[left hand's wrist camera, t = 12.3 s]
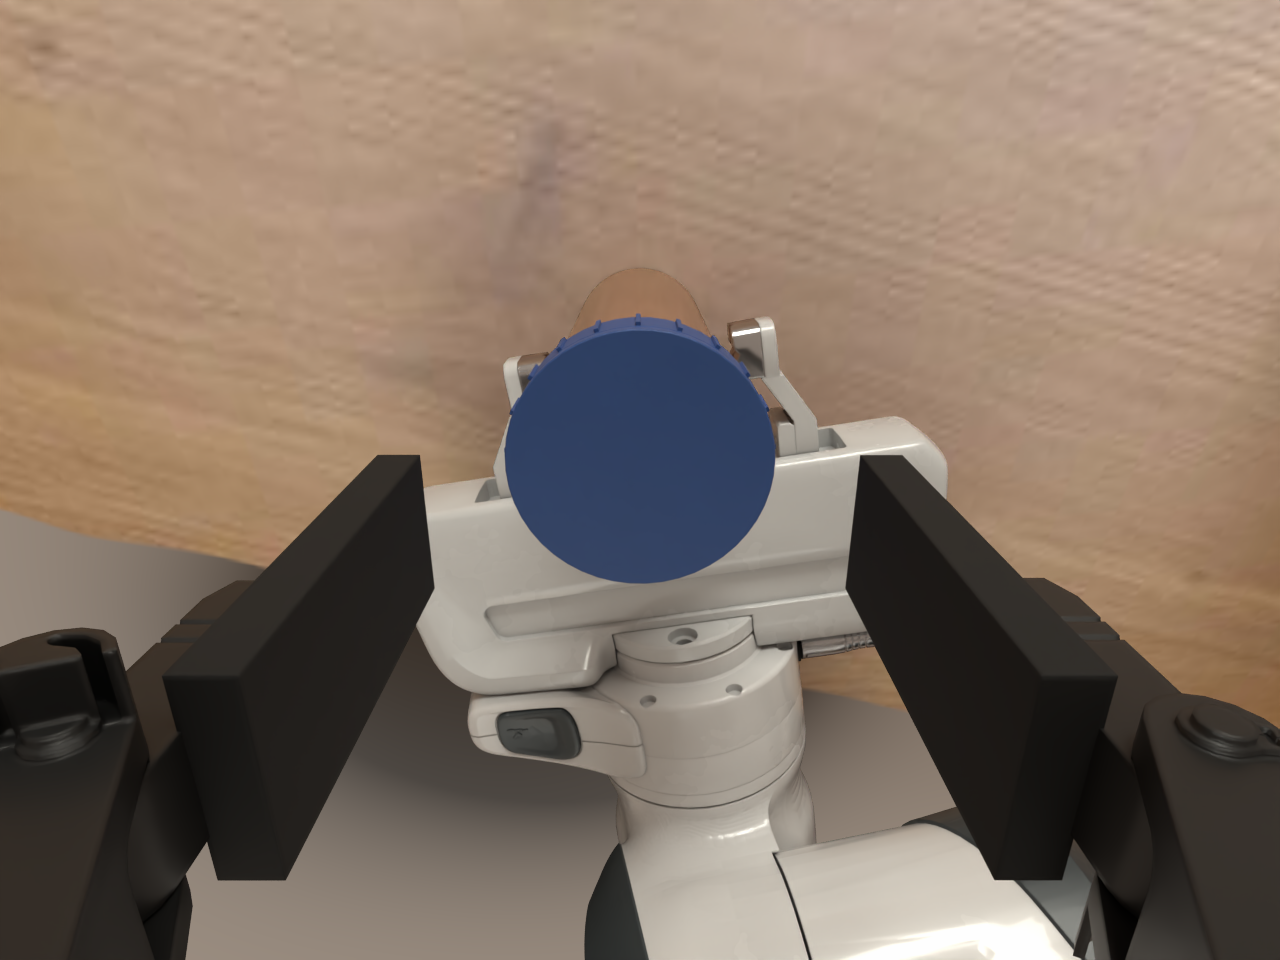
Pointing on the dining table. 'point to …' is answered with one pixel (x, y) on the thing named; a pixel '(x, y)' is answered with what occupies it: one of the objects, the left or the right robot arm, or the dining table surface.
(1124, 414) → the dining table surface
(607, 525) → the lid
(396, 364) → the dining table surface
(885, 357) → the dining table surface
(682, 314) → the jar
